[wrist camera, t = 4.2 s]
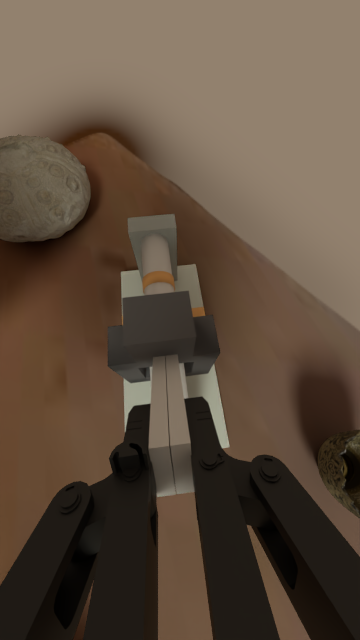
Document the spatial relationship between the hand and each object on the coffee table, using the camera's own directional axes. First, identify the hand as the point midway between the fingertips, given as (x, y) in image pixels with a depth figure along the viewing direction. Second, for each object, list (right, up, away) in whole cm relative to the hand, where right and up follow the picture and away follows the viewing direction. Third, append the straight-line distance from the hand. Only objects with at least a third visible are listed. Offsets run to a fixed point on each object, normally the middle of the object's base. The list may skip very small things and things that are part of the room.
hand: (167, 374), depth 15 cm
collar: (0, -1, +9) cm, 9 cm away
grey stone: (-22, +21, +25) cm, 40 cm away
